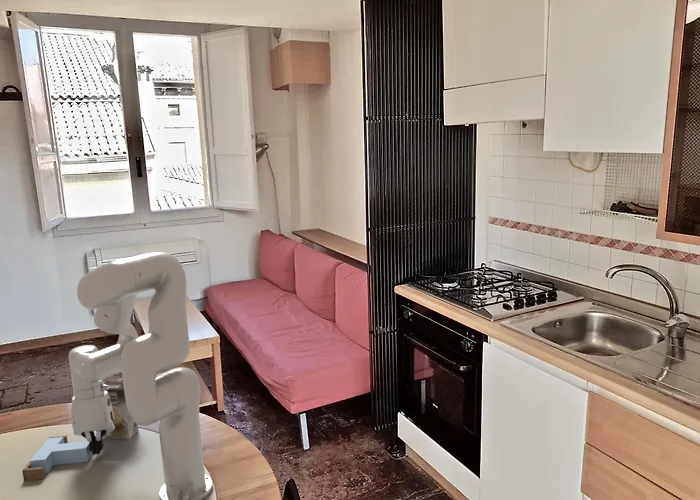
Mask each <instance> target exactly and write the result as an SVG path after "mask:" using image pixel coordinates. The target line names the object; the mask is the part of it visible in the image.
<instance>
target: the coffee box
mask: <svg viewBox="0 0 700 500" xmlns="http://www.w3.org/2000/svg"><path fill="white" fill-rule="evenodd" d="M103 382H104V385H109V389H108V390H105V391H107V392H108V394H109V397H110V400H111V403H112V407H113V412H114V422H113V424H114V426H115V429H114V431H112V432H109V433H106V434H105V435H104V436H103V437H102V440H121V441H122V440H127V441H129V440H131V439H132V438H133V437H134V436H135V434H136V433H137V432H138V431H139V430H140V429H139V425H138V424H136V423H135V422H134V421H133V420H132V419H131V417H130V415H129V413H128V409H127V405H126V400H125V392H124V384H123V380H105V381H103Z"/></svg>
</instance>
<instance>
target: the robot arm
mask: <svg viewBox="0 0 700 500" xmlns="http://www.w3.org/2000/svg"><path fill="white" fill-rule="evenodd" d="M186 277H187V276H186V273H185V269H184V266H183V265H182V263H181V262H180V261H179V259H178V258H177V257H176V256H174V255H173V254H171V253H169V252H162V251H157V252H156V251H155V252H148V253H143V254H139V255H136V256H131V257H127V258H122V259H117V260H116V259H115V260H113V261H112V260H111V261H110V262H107V263H105V264H102V265H101V266H99V267H97V268H95V269H93V270H92V271H90V272H87V273H85V275H83V276H82V277H81V278H80V279H79V281H78V284H77V288H76V296H77V299H78V302H79V303H80V305H81V306H82V307H84V308H85V309H87V310H95V313H94V317H93V323H94V325H95V327H96V328H97V329H99V330H101V331H102V332H105V333H108V334H112V335H119V336H118V339H117V342H116V344H113V345H110V346H108V347H104V348H102V349H100V350H99V348H98V347H97V346H96V345H93V344H92V345H91V344H85V345H81V346H79V345H78V346H77V347H74V348H72V349H70V351H69V353H68V362H69V363H68V364H69V369H70V370H69V371H70V376H71V385H72V391H73V396H72V399H71V411H70V412H71V415H70V416H71V426H72V430H73V435H74V436H79V437H81V436H82V437H83V438H84V439H86V441H88V442H89V444H90V450H91V451H92V456H94V455H100V453H101V452H102V450H103V449H104V441H103V440H104V439H102V437H103V436H104V435H105V434H106V433H109V432H112V431H114V429H115V426H114V424H113V422H114V412H113V407H112V403H111V400H110V397H109V394H108V392H107V391H105V390H108V389H109V385H104V382H105V381H104V380H105V379H107V378H110V377H112V376H115V375H116V374H119V373H121V375H122V381H123V384H124V392H125V400H126V405H127V409H128V413H129V415H130V417H131V419H132V420H133V421H134V422H135V423H136V424H138V426H140V427H148V426H151V425H154V424H156V423H158V422H159V425H158V426H159V427H158V433H159V442H160V453H161V460H162V469H163V470H162V471H163V478H164V484H163V485H162V486H161V487H160V489H159V500H203V499H205V498H206V497H207V496H208V495H209V494H210V493H211V491H212V489H213V480H212V478H211V477H210V476H208V475H207V474H206V472H205V464H204V463H205V461H204V452H203V443H202V434H201V433H202V432H201V424H200V423H201V422H200V421H201V420H200V401H201V400H200V399H201V381H200V378H199V376H198V375H197V373H196V372H195V371H194V370H192V369H191V368H188V367H185V366H181V367H180V366H179V365H180V364H182V363H184V362H185V361H187V359H188V358H189V355H190V351H191V350H190V347H191V346H190V337H189V326H188V315H187V308H186V306H187V305H186V304H187V303H186V302H187V301H186V299H187V278H186ZM151 290H155V291H154V294H153V295H152V298H151V300H150V301H149V306H148V310H147V317H148V318H147V319H148V331H147V333H145V334H142V335H140V336H139V335H138V332H137V329H136V328H135V326H134V325H133V323H131V319H132V314H133V310H134V306H135V302H136V299H137V294H141V293H144V292H147V291H151ZM177 366H179V367H177ZM174 367H176V368H174Z"/></svg>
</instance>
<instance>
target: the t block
mask: <svg viewBox="0 0 700 500" xmlns="http://www.w3.org/2000/svg"><path fill="white" fill-rule="evenodd" d="M44 443H45V444H44ZM44 443H43V444H42V445H41V447H40V448H39V450H37V452H36V453H35V454H34V455H33V457H31V459H30V460H29V462H30V465H31V468H37V467H43V471H44V474H48V473H49V472H50V471H51V469H52V468H53V467H54V466H55V465H66V464H76V463H86V462H89V460H90V459H91V457H92V456H93V454H92V451H91V450H90V444H89V442H88V441H87V440H85V441H76V442H68V443H64V438H63V437H58V438H49V437H48V439H47V440H46V441H45V442H44Z"/></svg>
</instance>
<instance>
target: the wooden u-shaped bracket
mask: <svg viewBox="0 0 700 500" xmlns="http://www.w3.org/2000/svg"><path fill="white" fill-rule="evenodd" d="M58 437H63V438H64V443H69V439H68V435H60V436H58V435H57V436H49V437H48V439H49V438H58ZM44 444H45V442H44V443H43V445H44ZM21 471H22V478H23V479H22V480H23V481H24V482H28V481H29V482H30V481H36V480H37V481H38V480H43V479H45V473H44V471H43V467H37V468H31V465H30V461H29V462H28V463H27V464H26V465H25V466H24V468H23V469H22V470H21Z"/></svg>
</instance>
